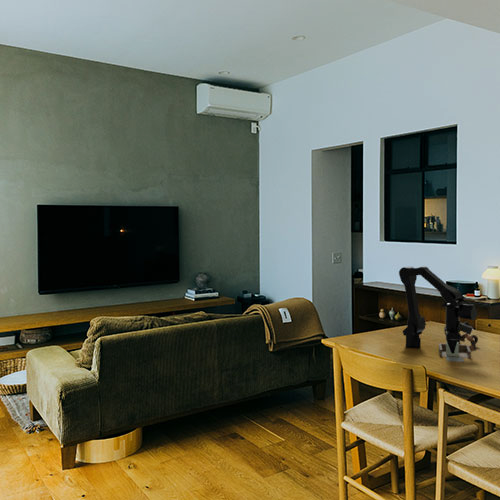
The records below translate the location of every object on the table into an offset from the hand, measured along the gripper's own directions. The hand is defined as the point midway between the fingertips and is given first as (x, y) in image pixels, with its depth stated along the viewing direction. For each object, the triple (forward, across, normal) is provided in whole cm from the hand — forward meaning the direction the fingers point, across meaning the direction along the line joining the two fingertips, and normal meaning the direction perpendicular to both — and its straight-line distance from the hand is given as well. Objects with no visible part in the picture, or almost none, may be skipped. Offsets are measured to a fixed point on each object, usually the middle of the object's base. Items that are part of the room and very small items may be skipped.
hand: (452, 350), depth 236 cm
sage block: (+2, 0, 0) cm, 2 cm away
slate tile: (+2, -8, 0) cm, 9 cm away
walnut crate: (+2, +2, -1) cm, 3 cm away
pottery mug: (+2, +17, -8) cm, 19 cm away
